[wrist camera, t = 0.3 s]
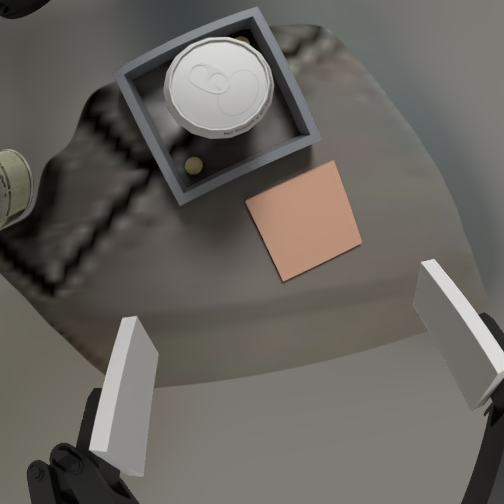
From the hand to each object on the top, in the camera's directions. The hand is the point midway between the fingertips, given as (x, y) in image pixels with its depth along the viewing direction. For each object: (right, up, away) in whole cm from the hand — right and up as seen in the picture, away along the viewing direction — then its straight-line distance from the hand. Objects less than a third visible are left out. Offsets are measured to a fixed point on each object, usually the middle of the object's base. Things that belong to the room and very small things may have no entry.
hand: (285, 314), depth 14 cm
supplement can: (-6, +20, +20) cm, 28 cm away
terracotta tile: (+6, +7, +26) cm, 27 cm away
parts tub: (-6, +20, +20) cm, 28 cm away
